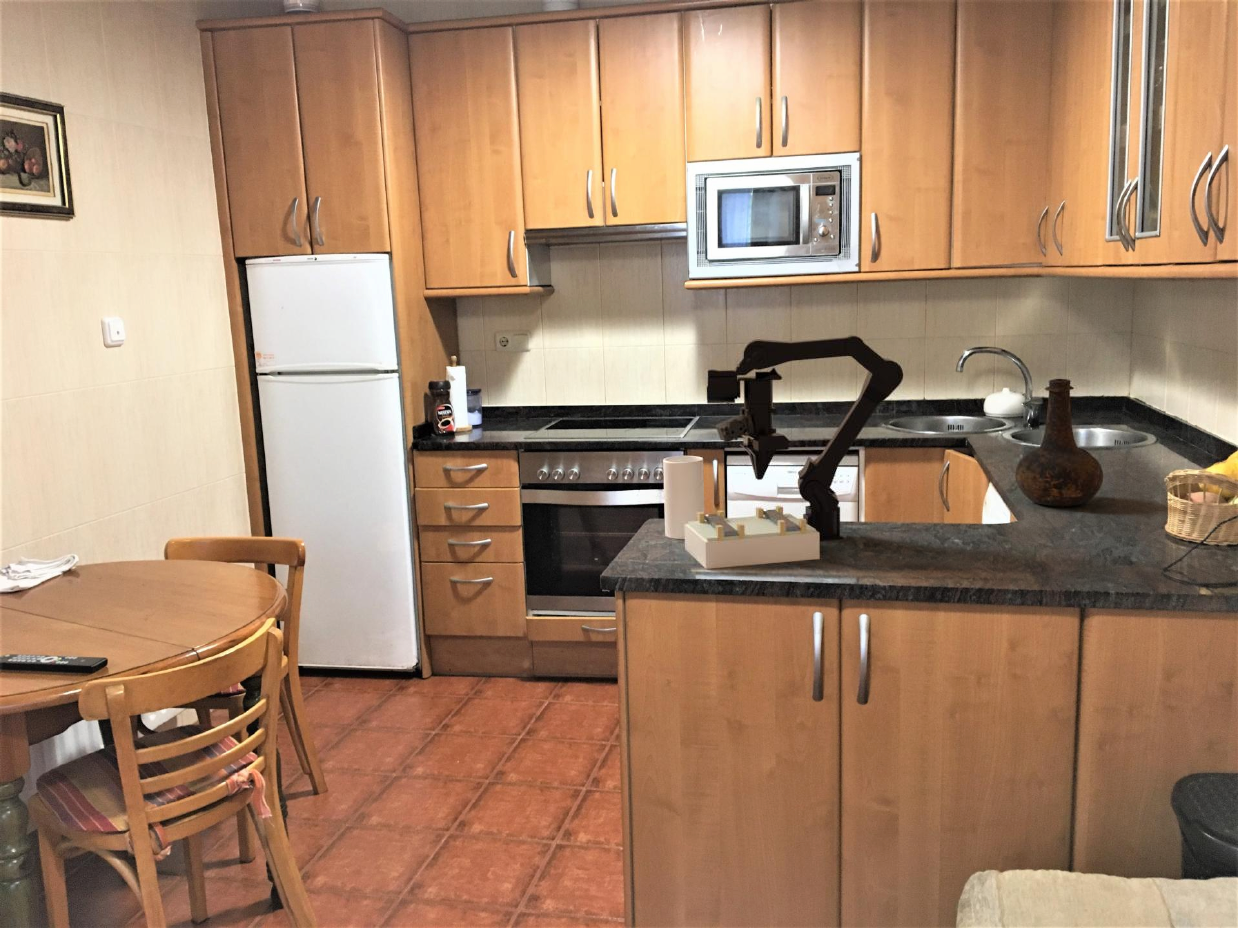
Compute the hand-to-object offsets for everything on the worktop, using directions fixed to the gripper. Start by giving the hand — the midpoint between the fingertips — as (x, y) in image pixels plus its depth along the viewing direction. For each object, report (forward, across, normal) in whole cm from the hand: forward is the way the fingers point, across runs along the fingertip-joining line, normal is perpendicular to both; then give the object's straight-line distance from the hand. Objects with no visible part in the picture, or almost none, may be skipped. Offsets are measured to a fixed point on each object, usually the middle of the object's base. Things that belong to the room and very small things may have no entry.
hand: (759, 479), depth 206 cm
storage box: (+12, +12, -6) cm, 18 cm away
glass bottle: (+12, -8, +73) cm, 74 cm away
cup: (+12, -7, -14) cm, 20 cm away
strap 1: (+6, +12, -12) cm, 18 cm away
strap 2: (+6, +12, 0) cm, 14 cm away
